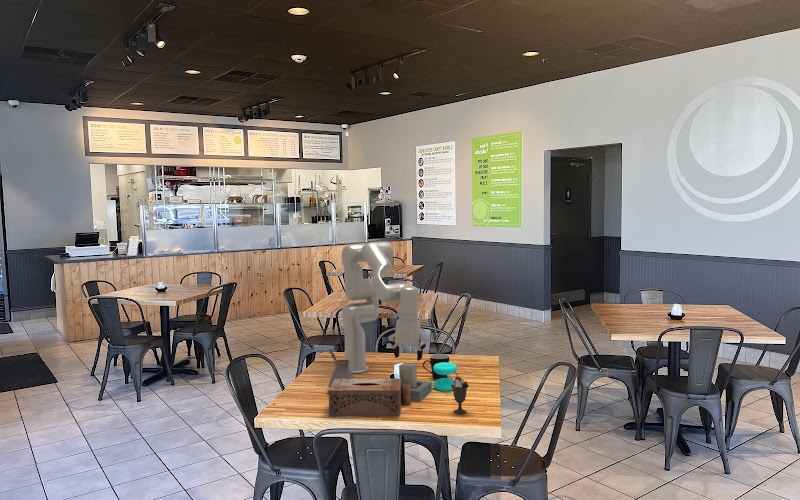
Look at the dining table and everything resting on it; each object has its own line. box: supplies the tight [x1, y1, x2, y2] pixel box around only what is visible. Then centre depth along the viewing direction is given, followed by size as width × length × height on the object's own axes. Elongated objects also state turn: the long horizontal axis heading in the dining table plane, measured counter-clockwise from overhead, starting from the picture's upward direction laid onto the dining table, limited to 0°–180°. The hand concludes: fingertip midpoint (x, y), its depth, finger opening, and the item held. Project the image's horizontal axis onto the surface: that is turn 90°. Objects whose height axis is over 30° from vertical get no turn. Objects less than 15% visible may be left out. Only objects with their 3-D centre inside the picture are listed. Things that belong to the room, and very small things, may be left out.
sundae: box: [451, 371, 470, 415], centre depth 217 cm, size 7×7×15 cm
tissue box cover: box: [328, 378, 402, 418], centre depth 221 cm, size 26×14×10 cm, turn 88°
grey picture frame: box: [411, 379, 433, 403], centre depth 239 cm, size 14×14×4 cm
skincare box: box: [398, 362, 418, 389], centre depth 239 cm, size 6×4×12 cm
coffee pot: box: [326, 348, 355, 390], centre depth 248 cm, size 21×12×15 cm, turn 26°
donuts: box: [432, 362, 458, 392], centre depth 247 cm, size 10×10×10 cm
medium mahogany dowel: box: [401, 384, 412, 407], centre depth 227 cm, size 4×4×8 cm
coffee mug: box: [422, 353, 450, 381], centre depth 261 cm, size 12×9×10 cm
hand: (408, 358), depth 239 cm, fingers open, 9 cm apart
